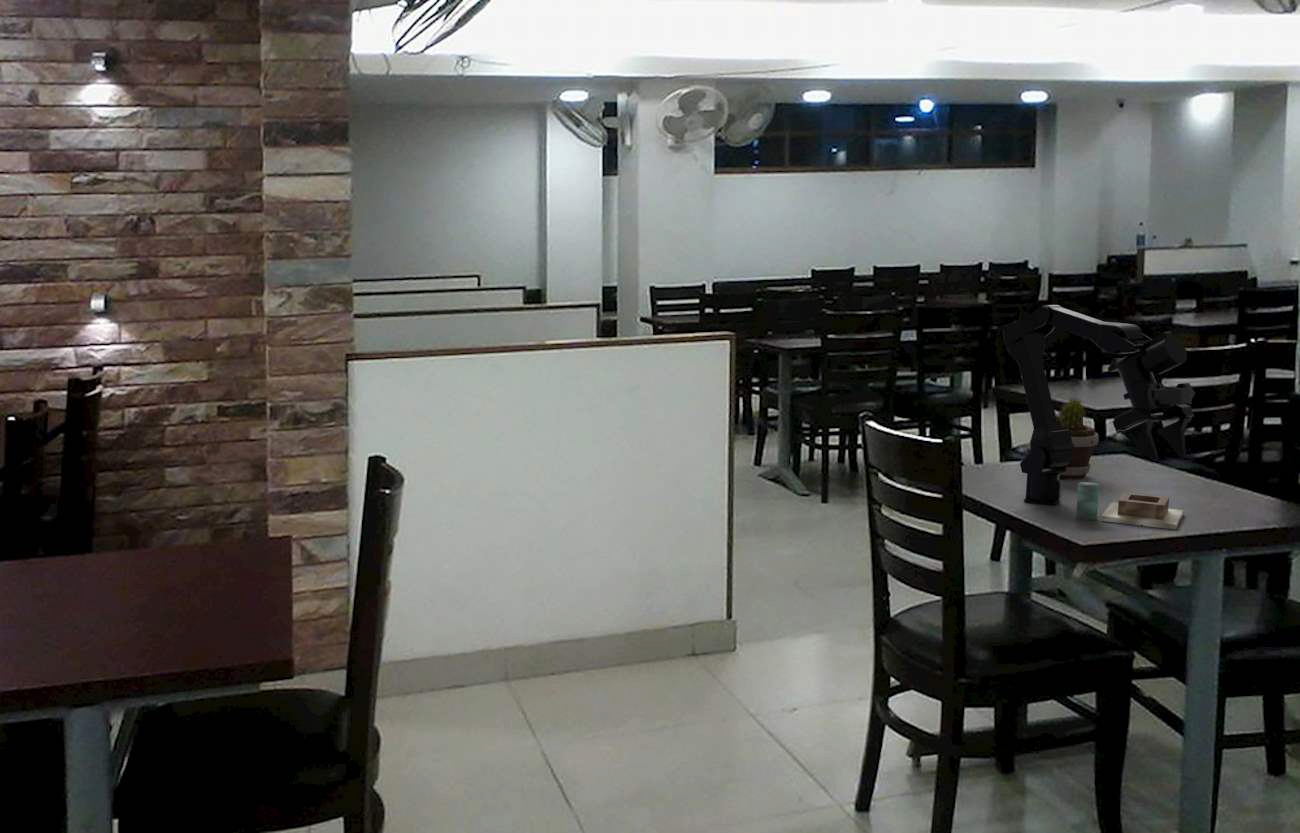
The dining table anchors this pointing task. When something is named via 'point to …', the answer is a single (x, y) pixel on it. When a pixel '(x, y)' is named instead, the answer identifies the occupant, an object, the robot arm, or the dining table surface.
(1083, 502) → the peg
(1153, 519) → the socket board
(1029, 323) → the robot arm
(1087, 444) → the flowerpot
